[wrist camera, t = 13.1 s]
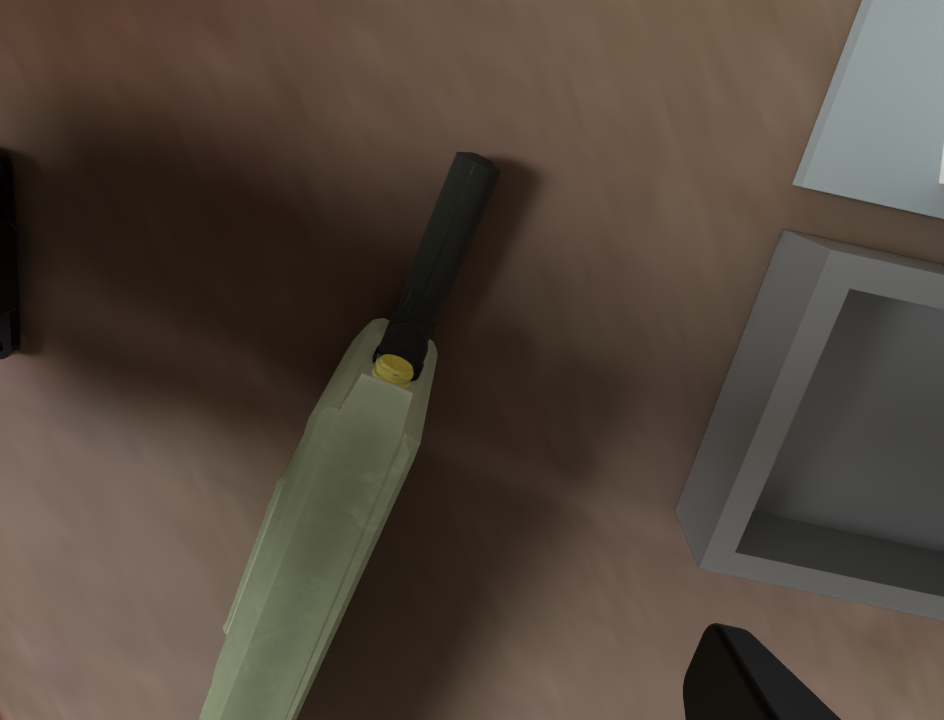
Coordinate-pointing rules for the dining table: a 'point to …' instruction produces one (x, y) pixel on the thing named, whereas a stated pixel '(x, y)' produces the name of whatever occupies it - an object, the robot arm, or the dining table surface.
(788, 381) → the case
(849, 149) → the pad
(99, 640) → the dining table surface
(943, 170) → the block
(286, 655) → the handheld radio
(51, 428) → the dining table surface
